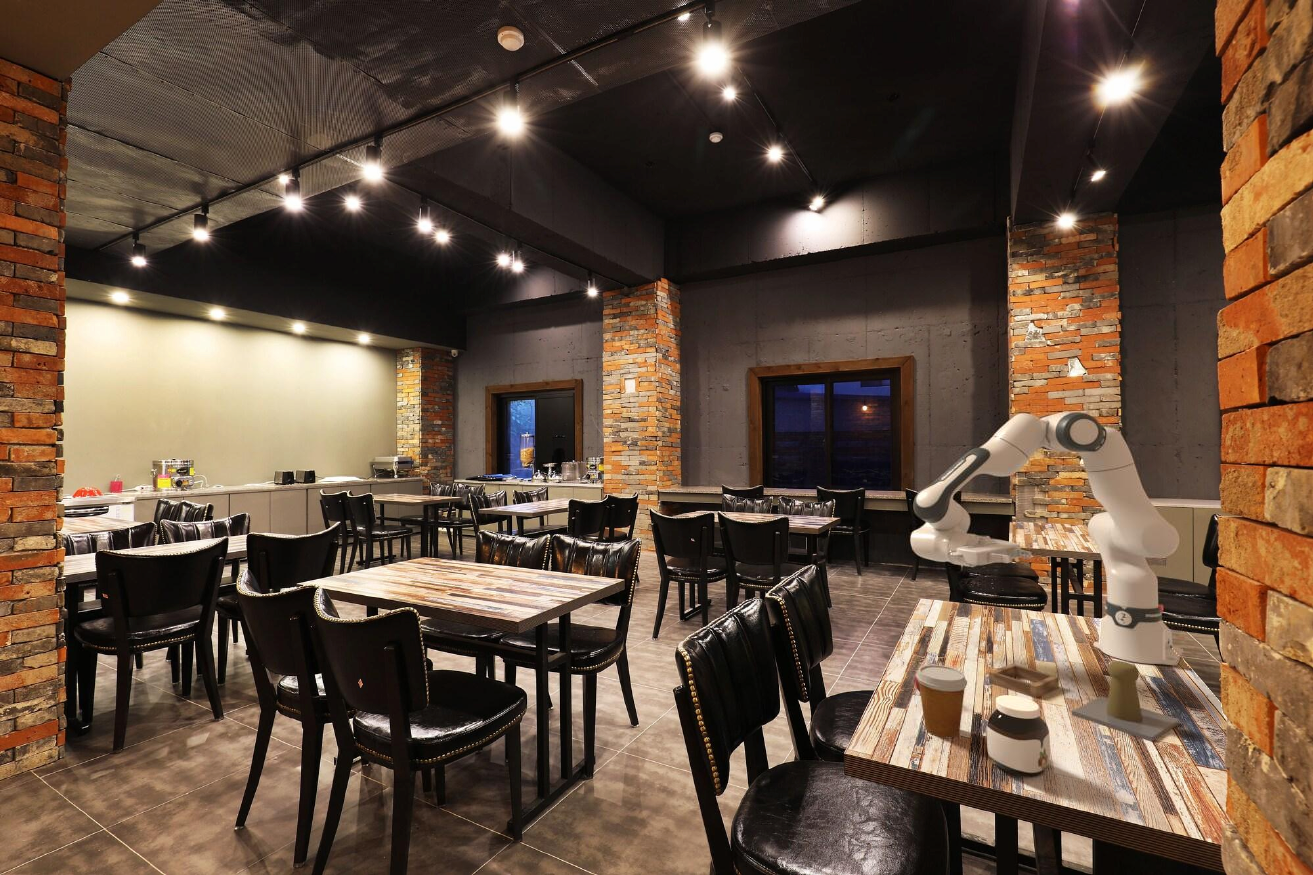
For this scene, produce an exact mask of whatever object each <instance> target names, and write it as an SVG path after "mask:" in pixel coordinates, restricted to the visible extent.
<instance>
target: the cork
mask: <svg viewBox="0 0 1313 875" xmlns="http://www.w3.org/2000/svg"><path fill="white" fill-rule="evenodd" d="M1107 672H1108V674H1109V676H1110V677H1111V678H1110V685H1109V693H1108V697H1107V698H1108V705H1107V713H1108V714H1109V715H1110V716H1112V717H1115V718H1117V719H1120V720H1125V721H1131V722H1138V721H1141V720H1142V714H1141V709H1140V708H1141V704H1140V697H1139V693H1138V689H1137V688H1138V687H1137V683H1136V682H1137V681H1138V680H1139V673H1140V672H1139V669H1138V667H1136V665H1134V664H1132V663H1129V662H1124V661H1111V662H1110V663H1109V664H1108V666H1107Z"/></svg>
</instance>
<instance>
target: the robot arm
mask: <svg viewBox="0 0 1313 875" xmlns="http://www.w3.org/2000/svg"><path fill="white" fill-rule="evenodd" d="M1039 449H1044V450H1046V451H1054V452H1060V453H1061V452H1062V453H1069V452H1077V453H1078V455H1079V457H1080V458H1081V459H1082V462H1083V465H1084V470H1085V472H1086V476H1087V479H1088V482H1089V485H1090V488H1091V492H1092V495H1093V497H1094V499H1095V500H1096V501H1097V502H1098V503H1099V504H1101V505H1102V507H1103V508H1104V509H1105V512H1104V511H1103V512H1099V513H1097V514H1095V515H1093V516H1092V517H1091V518H1090V520H1089V521H1088V525H1087V532H1088V535H1089V536H1090V538H1091V539H1092V540H1093V541H1094V543H1095V545H1096V547H1097V548H1098V551H1099V554H1100V556H1101V560H1102V562H1103V567H1104V570H1105V571H1104V572H1105V575H1106V576H1105V577H1106V578H1105V579H1106V599H1105V604H1104V609H1105V610H1104V612H1105V614H1106V615H1105V616H1103V617H1102V618H1100V620H1099V634H1098V641H1094V642H1093V647H1095V648H1097V649H1099V650H1100V651H1101V652H1102V653H1104V654H1106V655H1108V656H1110V657H1113V658H1115V659H1116V658H1117V659H1121V660H1123V661H1128V662H1133V663H1140V664H1152V665H1153V664H1154V665H1155V664H1156V665H1168V666H1178V665H1179V662H1180V660H1181V659H1180V657H1181V658H1182V656H1183V655H1184V648H1181V647H1178V646H1175V645H1173V632H1172V630H1171V629H1170V628H1169V627H1168V626H1167V625H1166V624H1165V622H1164V621H1163V615H1162V613H1163V612H1164V605H1163V604H1159V585H1158V584H1159V583H1158V582H1159V580H1158V577H1157V575H1156V574H1155V573H1154V571H1153V570H1152V569H1151V568H1150V566H1149V564H1148V562H1147V560H1146V558H1150V559H1151V558H1155V559H1156V558H1165V557H1169V556H1171V555H1172V554H1173V553H1175V552H1176V550H1177V549H1178V547H1179V543H1180V536H1179V533H1178V532H1179V531H1177V529H1176V527H1174V526H1173V525H1172V524H1171V523H1169V522H1168V521H1167V520H1166V519H1165V518H1164V517H1163V516H1162V515H1161V514H1160V512H1158V510H1157V508H1156V507H1155V506H1154V504H1153V502H1152V501H1151V500H1150V499H1149V497H1148V495H1147V493H1146V491H1145V490H1144V488H1143V485H1142V482H1141V478H1140V476H1139V473H1138V469H1137V467H1136V464H1135V461H1134V458H1133V455H1132V452H1131V451H1130V448H1129V446H1128V444H1127V443H1126V441H1125V439H1124V437H1123V435H1122V434H1121V432H1120V431H1119V430H1118V429H1116V428H1113V427H1109V426H1103V425H1102V424H1101V423H1100V422H1099V421H1098V419H1096V418H1095V417H1094V416H1091V415H1090V414H1088V413H1086V412H1081V411H1074V412H1072V411H1062V412H1057V413H1052V414H1046V415H1043V416H1040V417H1038V416H1036V415H1035V414H1030V413H1025V412H1023V413H1021V412H1020V413H1018V414H1016V415H1014V416H1013V417H1011V418H1010V419H1009V420H1008V421H1006V422H1005V424H1003V425H1002V426H1001V427H1000V428H999V429H998V430H997V431H996V432H995V433H994V434H993V435H992V437H990V439H989V440H988V441H986V442H985V443H984V444H982V445H981V446H979V447H974V448H973V449H970V450H968V452H966V453H965V454H963V455H962V456H961V457H959V459H958V460H957V461H955V462H954V463H953V464H952V465H951V466H950V467H949V468H947V469H946V471H945V472H943V473H942V474H941V475H940V476H939V477H938V478H937V479H935V480H934V481H933V482H931V483H930V484H929V485H927V486H925V487H924V488H922V489H921V490H919V491H918V492H917V494H916V495H915V497H914V500H913V504H912V507H913V512H914V514H915V515H916V516H917V518H919V519H921V520H922V521H924V522H925V523H924V524H923V525H921V526H920V527H919V528H917V529H915V530H913V531H912V532H911V534H910V545H911V549H912V551H913V552H914V553H915V554H916V555H917V556H919V557H921V558H923V559H927V560H931V561H935V562H940V563H942V562H943V563H945V562H949V563H951V564H953V565H958V566H963V567H971V568H974V567H977V566H984V565H989V564H994V563H1004V564H1010V563H1012V562H1013V560H1014V559H1019V558H1021V559H1025V560H1029V559H1032V557H1033V556H1032V552H1031V551H1029V550H1028V551H1027V550H1024V549H1021V545H1020V544H1018V543H1016V542H1013V541H1007V540H1003V539H996V538H991V537H990V536H989V535H977V534H975V533H968V531H969V528H970V527H971V516H970V514H969V513H968V511H967V510H965V508H963V507H962V506H961V504H959V503H958V502H957V501H955V500H954V495H955V494H956V493H958V491H959V490H961V489H962V488H963V487H964V486H965V485H966V484H967V483H968V482H970V481H971V480H972V479H973V478H974V477H976V476H978V475H982V474H983V475H984V474H986V475H990V476H994V477H1000V478H1001V477H1010V476H1013V475H1015V474H1016V473H1017V472H1019V471H1020V470H1021V469H1022V468H1023V467H1024V466H1025V465H1026V463H1028V461H1029V460H1030V459H1031V458H1032V456H1033V455H1035V453H1036V452H1037V451H1038V450H1039ZM1172 648H1173V649H1172ZM1174 650H1175V651H1176V652H1177V654H1176V652H1174ZM1178 655H1179V656H1178Z"/></svg>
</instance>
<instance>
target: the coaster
mask: <svg viewBox="0 0 1313 875" xmlns="http://www.w3.org/2000/svg"><path fill="white" fill-rule="evenodd" d="M1108 698H1109V697H1106V696H1104V695H1103V696H1102V695H1101V696H1099V697H1096V698H1095V699H1093V700H1091V701H1089V702H1087V703H1085V704H1083V705H1081V706H1079V707H1077V708H1075V709H1073V710H1072V711H1071V715H1072V716H1074V717H1078V718H1080V719H1083V720H1085V721H1090V722H1093V723H1095V724H1099V725H1101V726H1105V727H1108V728H1111V729H1114V730H1117V731H1119V732H1122V733H1125V734H1128V735H1131V736H1134V737H1138V738H1141V739H1143V740H1146V741H1149V742H1153V741H1155V740H1156V739H1158V738H1160V737H1161V736H1163V735H1164V734H1165V733H1167V732H1169V731H1170V730H1171V729H1173V728H1174V727H1177V726H1178V725H1179V724H1180V719H1179V718H1176V717H1172V716H1169V715H1165V714H1162V713H1159V712H1155V711H1153V710H1149V709H1145V708H1142V707H1140V709H1141V714H1142V720H1141V721H1138V722H1131V721H1125V720H1120V719H1117V718H1115V717H1112V716H1110V715H1109V714H1108V713H1107V705H1108Z"/></svg>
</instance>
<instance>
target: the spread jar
mask: <svg viewBox="0 0 1313 875" xmlns="http://www.w3.org/2000/svg"><path fill="white" fill-rule="evenodd" d="M985 736H986V744H987V745H986V747H987V748H986V749H987V753H988V757H989V759H991V761H992V762H993V763H994V764H995V765H997V766H998V767H999V768H1000V769H1002V770H1003V771H1005V772H1006V773H1009V774H1011V775H1015V776H1017V777H1022V778H1037V777H1038V776H1040V775H1042V774H1043V773H1044V772H1045V770H1046V769H1047V768H1048V765H1049V763H1050V757H1051V741H1050V739H1051V738H1050V729H1049V726H1048V724H1047V722H1046V721H1045V720H1044V719H1043V718H1042V717H1041V716H1040V706H1039V704H1038V703H1036V702H1035V701H1033V700H1031V699H1029V698H1025V697H1022V696H1018V695H1009V694H1008V695H1006V694H1004V695H999V696H997V697H996V698H995V709H994V711H993V712H992V713H991V714H990V716H989V717H988V720H987V725H986V727H985Z"/></svg>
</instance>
